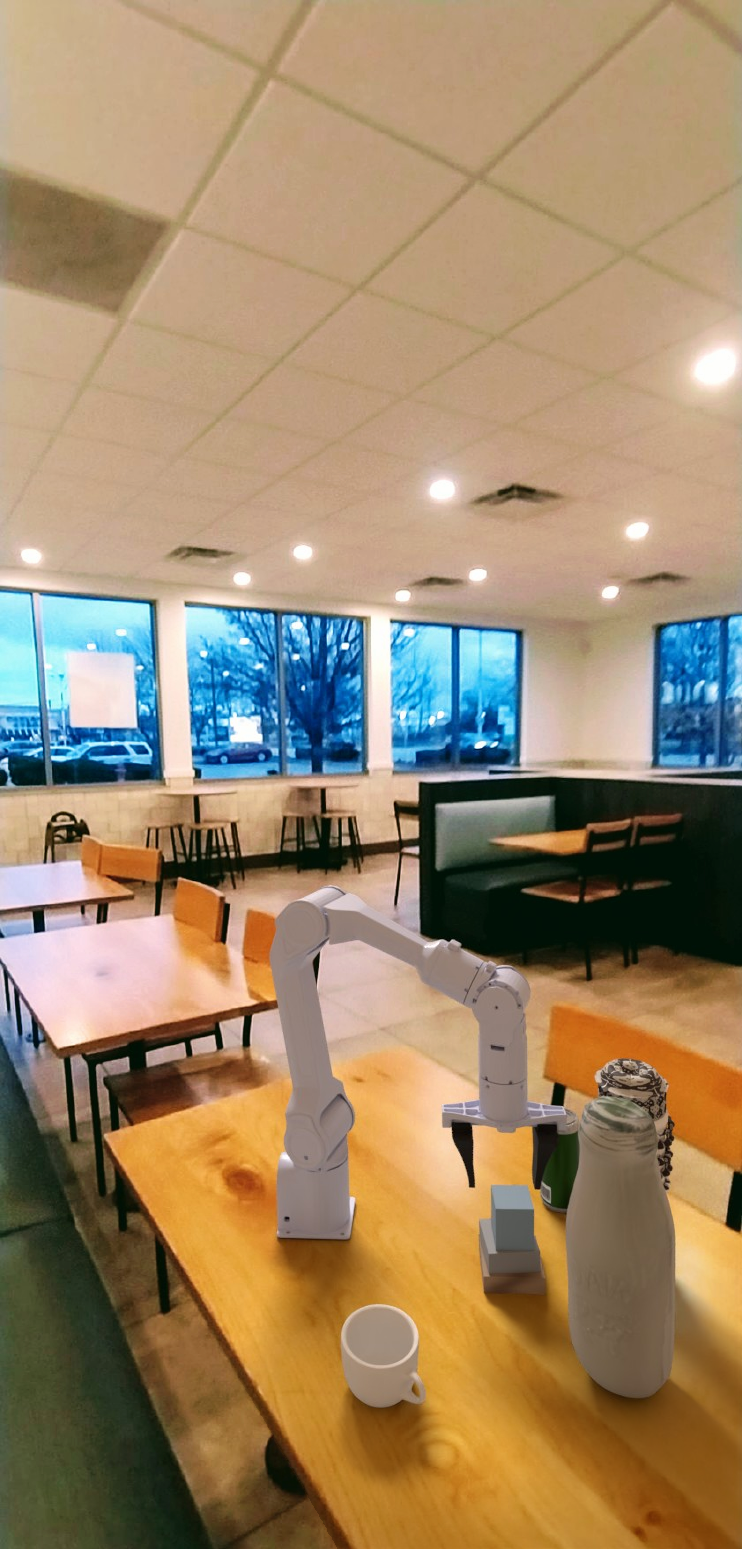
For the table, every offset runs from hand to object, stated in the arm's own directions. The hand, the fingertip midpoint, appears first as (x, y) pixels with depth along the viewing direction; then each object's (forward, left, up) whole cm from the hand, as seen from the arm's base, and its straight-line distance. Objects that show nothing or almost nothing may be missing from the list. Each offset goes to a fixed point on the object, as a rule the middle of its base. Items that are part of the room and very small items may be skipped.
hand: (503, 1183), depth 88 cm
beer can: (+9, +12, -11) cm, 18 cm away
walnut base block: (+1, -1, -11) cm, 11 cm away
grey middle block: (0, -1, -8) cm, 8 cm away
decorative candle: (+15, -1, -11) cm, 18 cm away
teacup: (-13, -18, -11) cm, 24 cm away
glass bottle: (+10, -15, -11) cm, 21 cm away
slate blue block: (+1, -1, -6) cm, 6 cm away
